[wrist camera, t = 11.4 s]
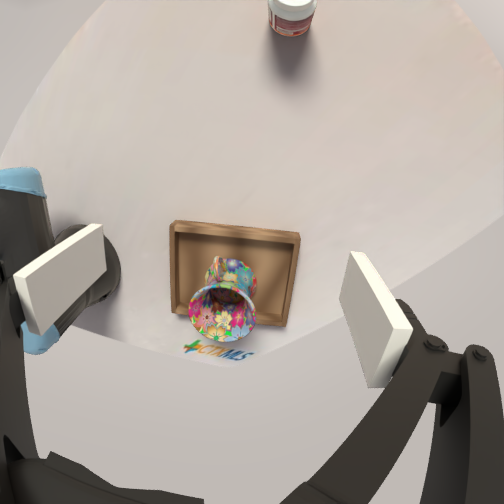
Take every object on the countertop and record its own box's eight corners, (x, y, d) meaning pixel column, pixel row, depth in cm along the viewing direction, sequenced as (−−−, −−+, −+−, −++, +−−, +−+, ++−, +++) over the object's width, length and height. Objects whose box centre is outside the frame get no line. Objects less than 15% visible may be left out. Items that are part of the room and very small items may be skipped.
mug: (262, 302, 52) (259, 340, 42) (208, 305, 53) (195, 343, 43) (254, 235, 48) (249, 263, 38) (196, 240, 49) (177, 268, 39)
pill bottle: (318, 26, 35) (331, -2, 25) (284, 44, 37) (287, 18, 26) (294, -2, 34) (299, -36, 23) (260, 15, 35) (256, -17, 25)
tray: (176, 303, 54) (171, 312, 51) (175, 219, 48) (169, 225, 45) (285, 316, 54) (286, 326, 51) (299, 232, 48) (300, 239, 45)
